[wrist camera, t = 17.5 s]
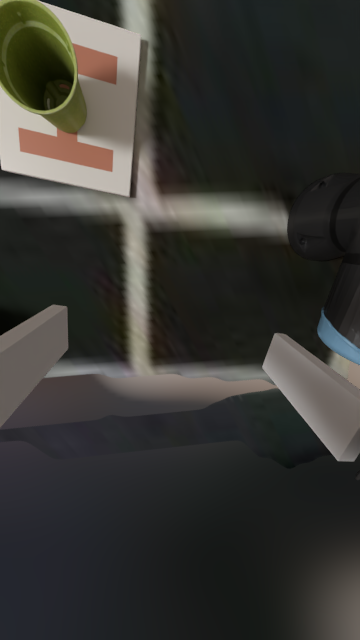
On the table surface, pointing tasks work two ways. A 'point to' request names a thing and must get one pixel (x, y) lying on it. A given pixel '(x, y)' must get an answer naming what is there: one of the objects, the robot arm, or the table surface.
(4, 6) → the plant pot
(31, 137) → the letter board
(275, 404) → the table surface
